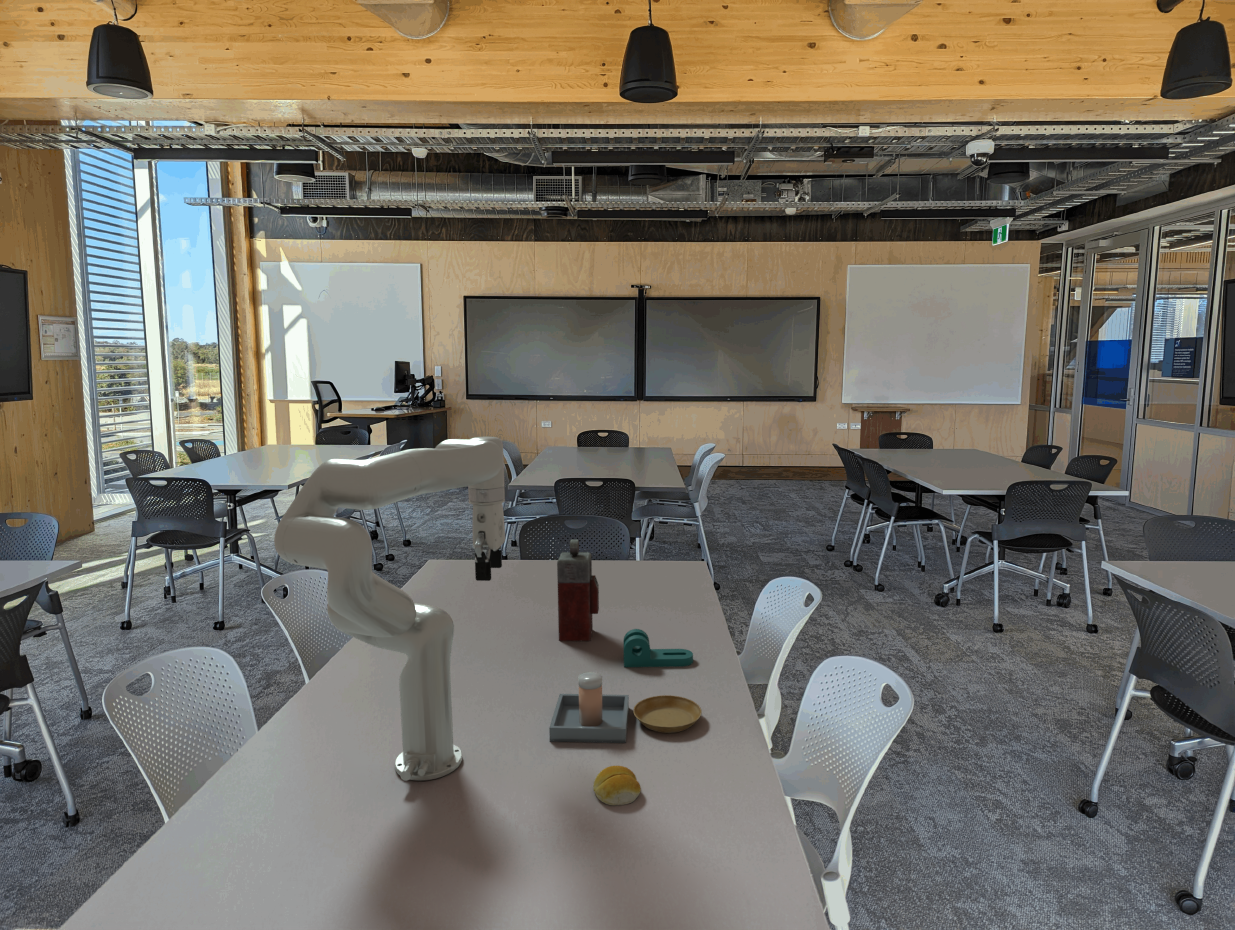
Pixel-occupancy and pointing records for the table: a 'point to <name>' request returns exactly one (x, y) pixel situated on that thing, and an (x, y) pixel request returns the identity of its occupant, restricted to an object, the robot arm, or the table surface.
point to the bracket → (651, 653)
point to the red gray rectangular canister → (576, 594)
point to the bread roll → (616, 786)
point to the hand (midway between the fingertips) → (489, 573)
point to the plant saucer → (667, 713)
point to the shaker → (590, 699)
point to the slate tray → (571, 730)
